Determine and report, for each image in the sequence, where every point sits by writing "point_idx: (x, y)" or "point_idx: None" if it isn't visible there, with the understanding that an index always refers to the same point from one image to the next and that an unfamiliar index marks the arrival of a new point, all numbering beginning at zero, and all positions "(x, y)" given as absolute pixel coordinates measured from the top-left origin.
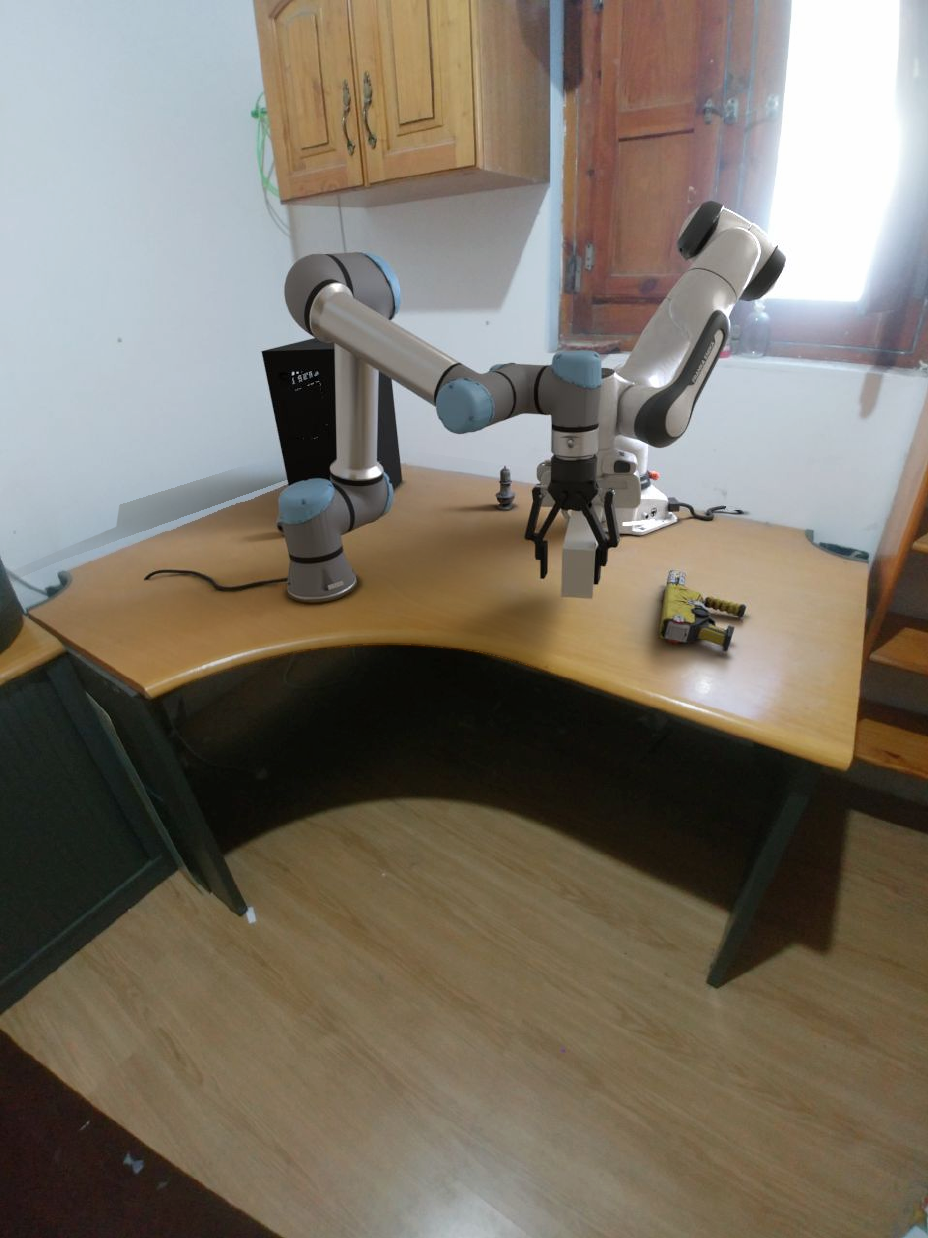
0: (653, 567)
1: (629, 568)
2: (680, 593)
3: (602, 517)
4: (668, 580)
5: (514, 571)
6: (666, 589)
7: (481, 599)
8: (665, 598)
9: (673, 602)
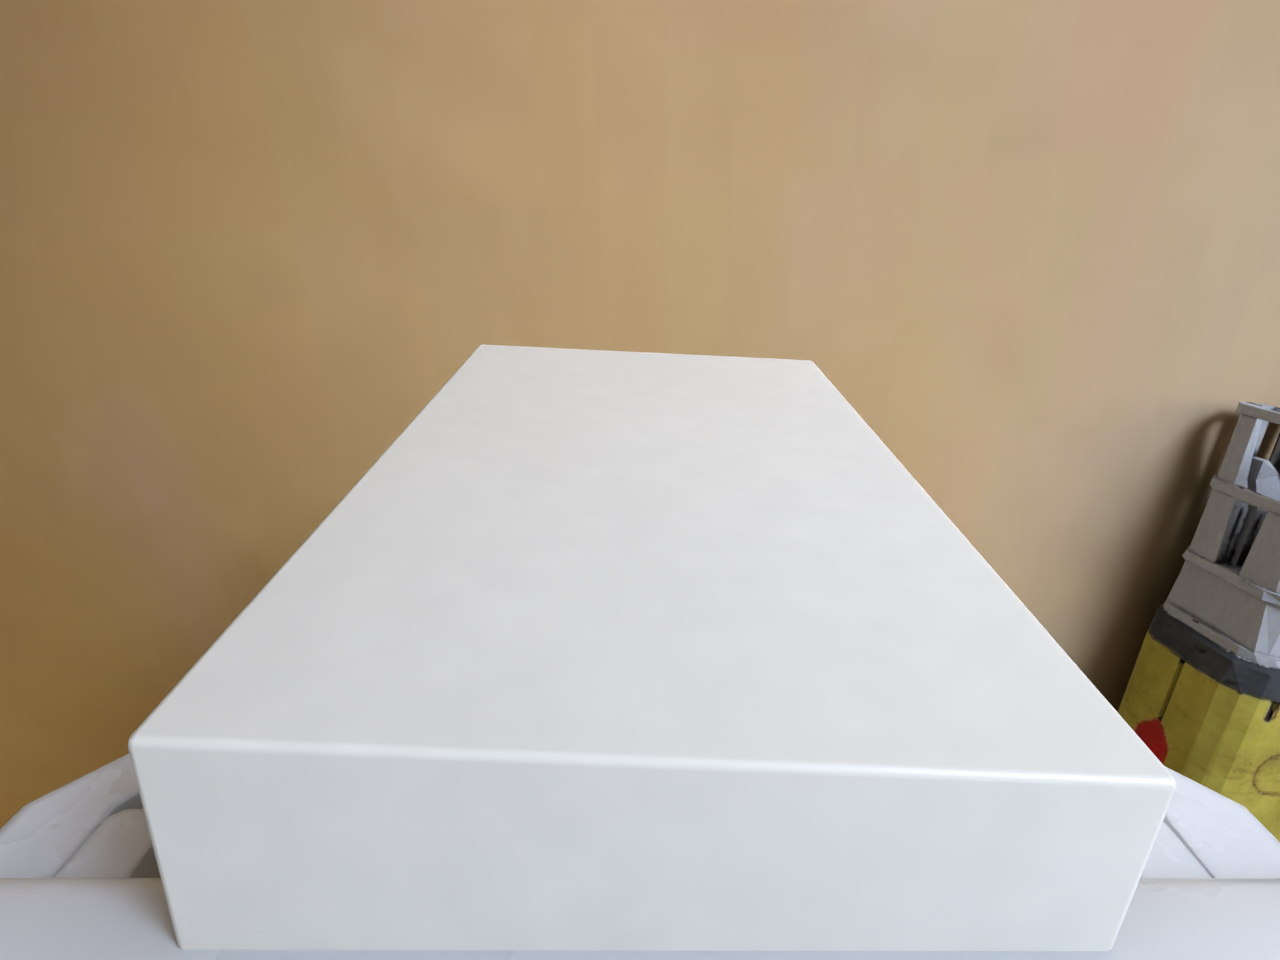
0: (1242, 11)
1: (1025, 56)
2: (1270, 827)
3: None
4: (1264, 598)
5: (58, 217)
6: (1199, 744)
7: (11, 662)
8: None
9: None
